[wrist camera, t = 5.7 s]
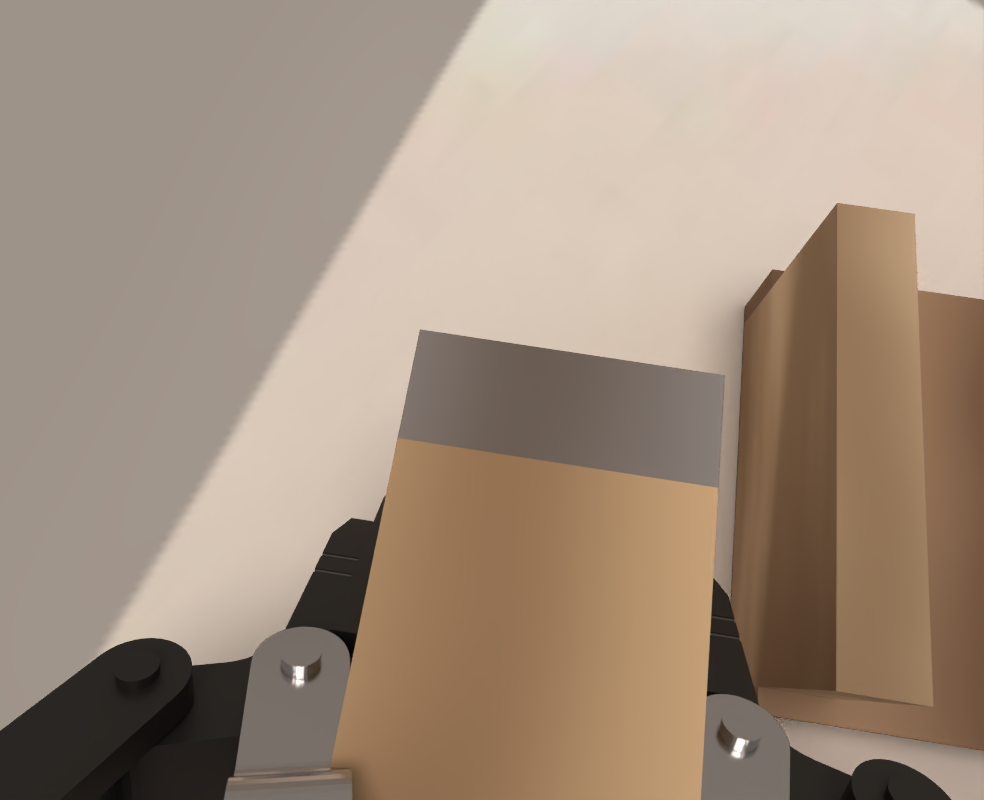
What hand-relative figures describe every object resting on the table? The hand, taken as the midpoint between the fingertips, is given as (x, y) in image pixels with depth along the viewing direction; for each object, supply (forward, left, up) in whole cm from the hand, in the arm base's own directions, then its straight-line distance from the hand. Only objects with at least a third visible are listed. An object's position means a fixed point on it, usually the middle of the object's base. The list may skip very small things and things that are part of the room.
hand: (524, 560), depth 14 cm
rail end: (0, +2, -4) cm, 5 cm away
